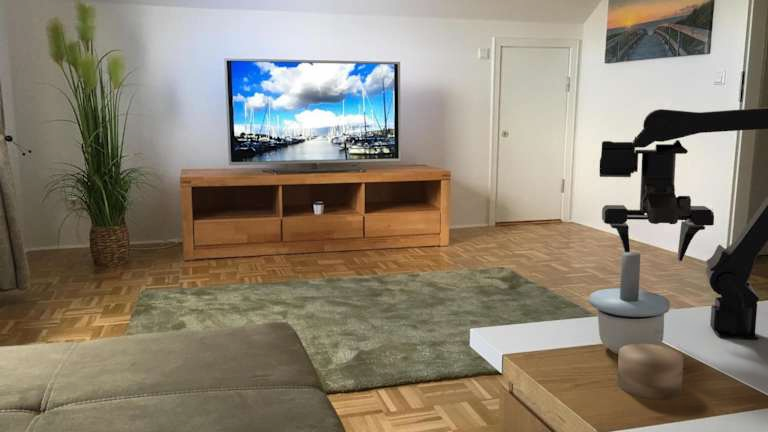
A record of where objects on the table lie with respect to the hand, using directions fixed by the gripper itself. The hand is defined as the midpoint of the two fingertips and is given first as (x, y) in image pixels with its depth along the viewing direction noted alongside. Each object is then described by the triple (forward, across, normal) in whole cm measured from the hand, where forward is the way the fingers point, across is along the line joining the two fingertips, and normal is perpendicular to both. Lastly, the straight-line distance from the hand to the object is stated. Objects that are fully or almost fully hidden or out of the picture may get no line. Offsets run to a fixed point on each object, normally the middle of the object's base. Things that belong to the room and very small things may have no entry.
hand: (653, 259), depth 120 cm
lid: (+5, -6, -13) cm, 15 cm away
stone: (+13, -5, -28) cm, 31 cm away
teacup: (+13, -6, -12) cm, 19 cm away
